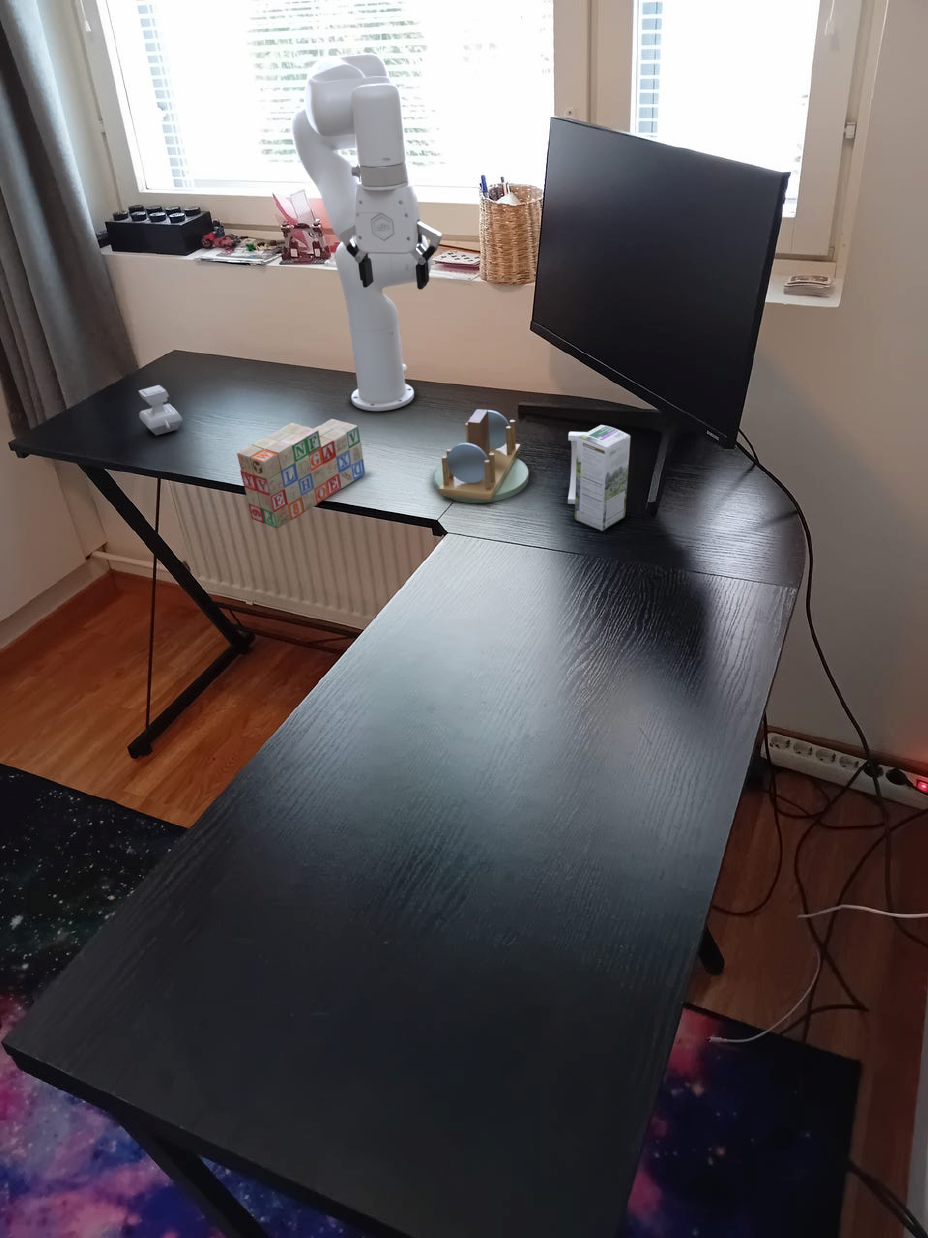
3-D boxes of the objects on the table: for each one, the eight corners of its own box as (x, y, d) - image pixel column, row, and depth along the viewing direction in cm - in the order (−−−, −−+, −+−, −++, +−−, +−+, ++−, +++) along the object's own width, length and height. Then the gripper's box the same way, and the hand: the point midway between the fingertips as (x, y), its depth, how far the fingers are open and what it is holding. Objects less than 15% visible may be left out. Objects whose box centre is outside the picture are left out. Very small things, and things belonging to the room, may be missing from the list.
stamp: (187, 433, 182) (177, 392, 177) (154, 442, 180) (142, 401, 175) (173, 417, 188) (162, 377, 183) (140, 427, 186) (129, 386, 181)
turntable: (450, 454, 168) (450, 448, 168) (538, 461, 164) (538, 455, 163) (422, 498, 156) (421, 491, 155) (515, 507, 152) (515, 500, 151)
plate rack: (491, 500, 151) (488, 442, 145) (438, 494, 154) (433, 437, 148) (520, 450, 165) (519, 395, 159) (471, 445, 167) (468, 391, 161)
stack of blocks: (340, 466, 167) (329, 401, 160) (366, 474, 164) (357, 408, 157) (250, 519, 154) (235, 451, 147) (277, 529, 151) (262, 460, 143)
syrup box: (597, 505, 151) (599, 422, 142) (626, 518, 147) (631, 433, 139) (574, 520, 148) (575, 435, 139) (603, 532, 144) (606, 446, 135)
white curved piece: (567, 503, 152) (567, 435, 145) (571, 485, 157) (572, 418, 149) (596, 505, 151) (598, 436, 144) (599, 486, 156) (601, 419, 149)
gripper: (323, 180, 146) (338, 291, 156) (428, 180, 142) (437, 295, 152) (342, 169, 152) (355, 277, 162) (443, 169, 147) (451, 280, 157)
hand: (395, 285), depth 157 cm, fingers open, 9 cm apart
